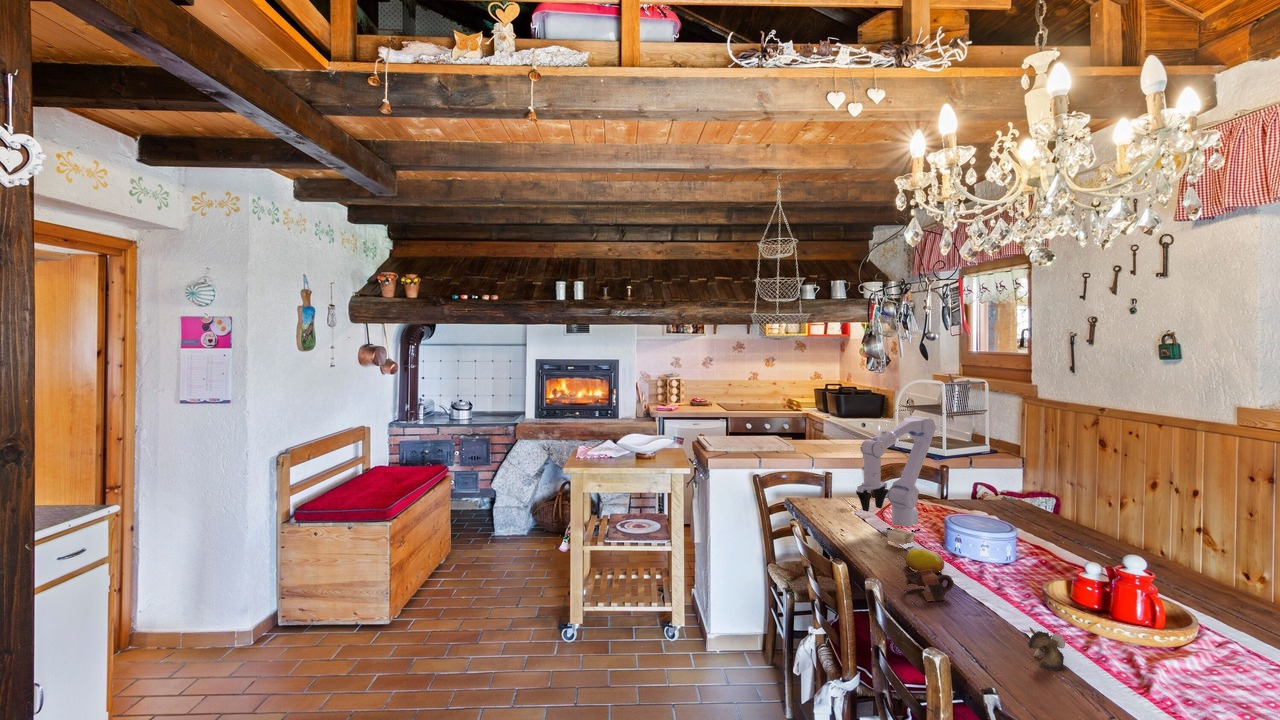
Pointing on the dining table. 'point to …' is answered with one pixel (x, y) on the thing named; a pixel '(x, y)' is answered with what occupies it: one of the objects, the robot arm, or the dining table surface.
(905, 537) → the ash block
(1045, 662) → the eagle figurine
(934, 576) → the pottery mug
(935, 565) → the fruit
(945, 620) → the dining table surface
